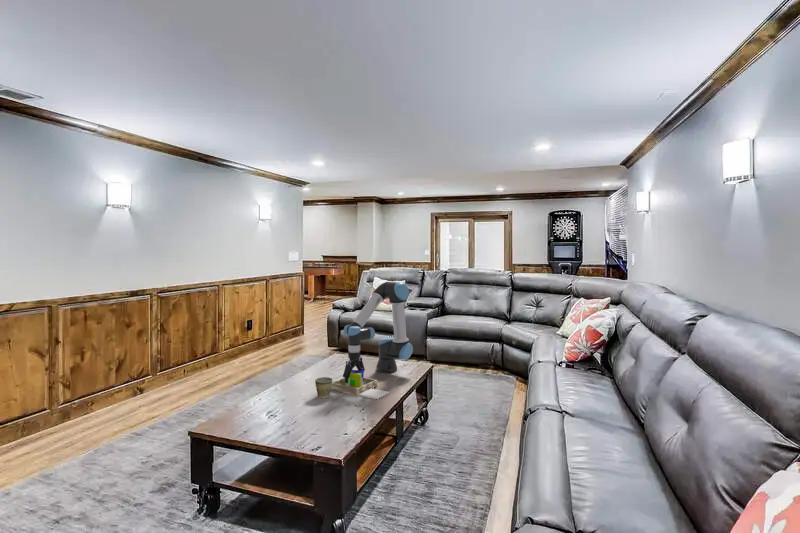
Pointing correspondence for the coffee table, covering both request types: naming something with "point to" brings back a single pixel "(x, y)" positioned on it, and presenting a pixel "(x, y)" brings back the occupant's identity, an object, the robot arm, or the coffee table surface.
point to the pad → (374, 393)
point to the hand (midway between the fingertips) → (354, 385)
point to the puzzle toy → (356, 378)
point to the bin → (341, 387)
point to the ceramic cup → (323, 387)
